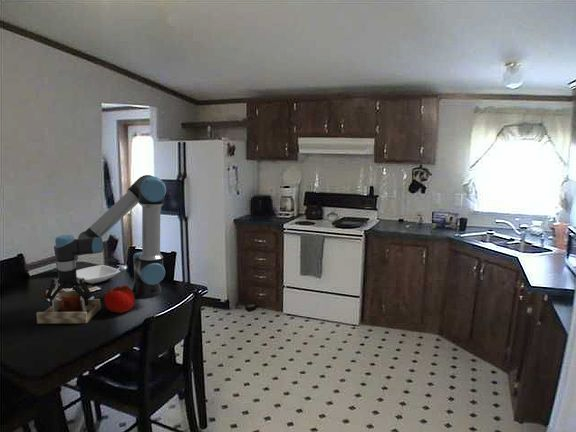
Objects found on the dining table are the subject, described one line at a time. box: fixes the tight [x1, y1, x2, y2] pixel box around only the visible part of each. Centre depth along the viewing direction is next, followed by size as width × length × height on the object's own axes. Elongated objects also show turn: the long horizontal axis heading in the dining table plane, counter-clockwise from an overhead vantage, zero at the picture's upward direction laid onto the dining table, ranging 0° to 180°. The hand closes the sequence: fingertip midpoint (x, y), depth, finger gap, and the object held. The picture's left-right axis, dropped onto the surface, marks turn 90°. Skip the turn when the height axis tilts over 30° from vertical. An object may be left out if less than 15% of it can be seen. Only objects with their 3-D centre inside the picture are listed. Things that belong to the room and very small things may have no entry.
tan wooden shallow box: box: [35, 298, 102, 324], centre depth 189 cm, size 21×16×5 cm
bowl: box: [76, 264, 121, 285], centre depth 237 cm, size 22×23×6 cm
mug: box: [59, 290, 82, 312], centre depth 189 cm, size 12×9×10 cm
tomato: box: [103, 285, 136, 314], centre depth 196 cm, size 13×14×12 cm
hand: (70, 312), depth 190 cm, fingers open, 13 cm apart
